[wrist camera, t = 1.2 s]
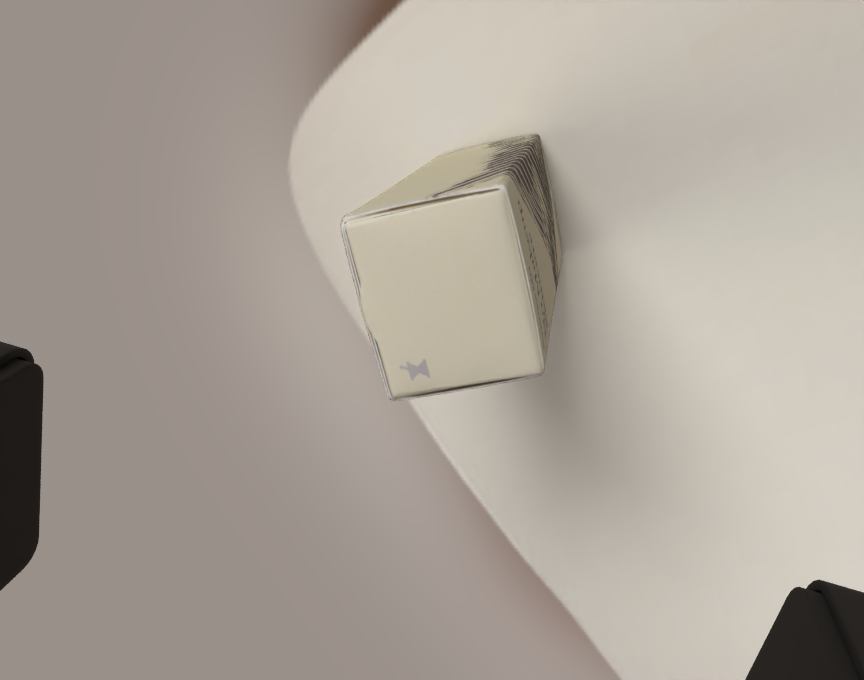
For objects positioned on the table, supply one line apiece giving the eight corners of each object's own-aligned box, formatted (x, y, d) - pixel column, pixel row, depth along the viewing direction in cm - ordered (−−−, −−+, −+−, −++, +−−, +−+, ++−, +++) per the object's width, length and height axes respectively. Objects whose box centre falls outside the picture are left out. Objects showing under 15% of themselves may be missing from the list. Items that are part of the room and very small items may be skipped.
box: (565, 256, 31) (554, 390, 20) (458, 276, 32) (387, 415, 21) (539, 122, 30) (510, 179, 18) (427, 148, 31) (330, 219, 19)
